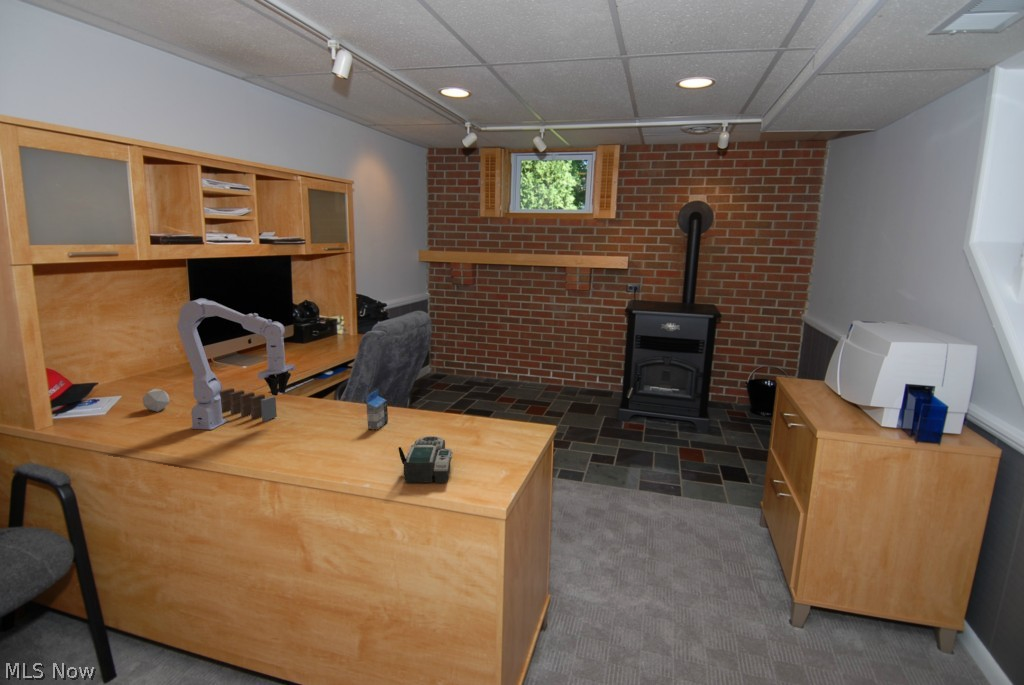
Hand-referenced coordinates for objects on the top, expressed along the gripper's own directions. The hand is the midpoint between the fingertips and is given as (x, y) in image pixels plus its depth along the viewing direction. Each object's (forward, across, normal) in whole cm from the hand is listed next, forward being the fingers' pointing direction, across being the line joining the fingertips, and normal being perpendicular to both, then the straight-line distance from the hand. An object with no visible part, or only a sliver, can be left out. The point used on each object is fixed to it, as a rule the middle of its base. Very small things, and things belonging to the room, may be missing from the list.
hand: (278, 393), depth 189 cm
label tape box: (+11, +13, -33) cm, 37 cm away
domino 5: (+10, 0, +6) cm, 12 cm away
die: (+11, -12, +51) cm, 54 cm away
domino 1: (+10, 0, +28) cm, 29 cm away
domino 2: (+10, 0, +22) cm, 24 cm away
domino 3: (+10, 0, +16) cm, 20 cm away
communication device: (+11, -5, -68) cm, 69 cm away
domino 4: (+10, 0, +11) cm, 15 cm away
